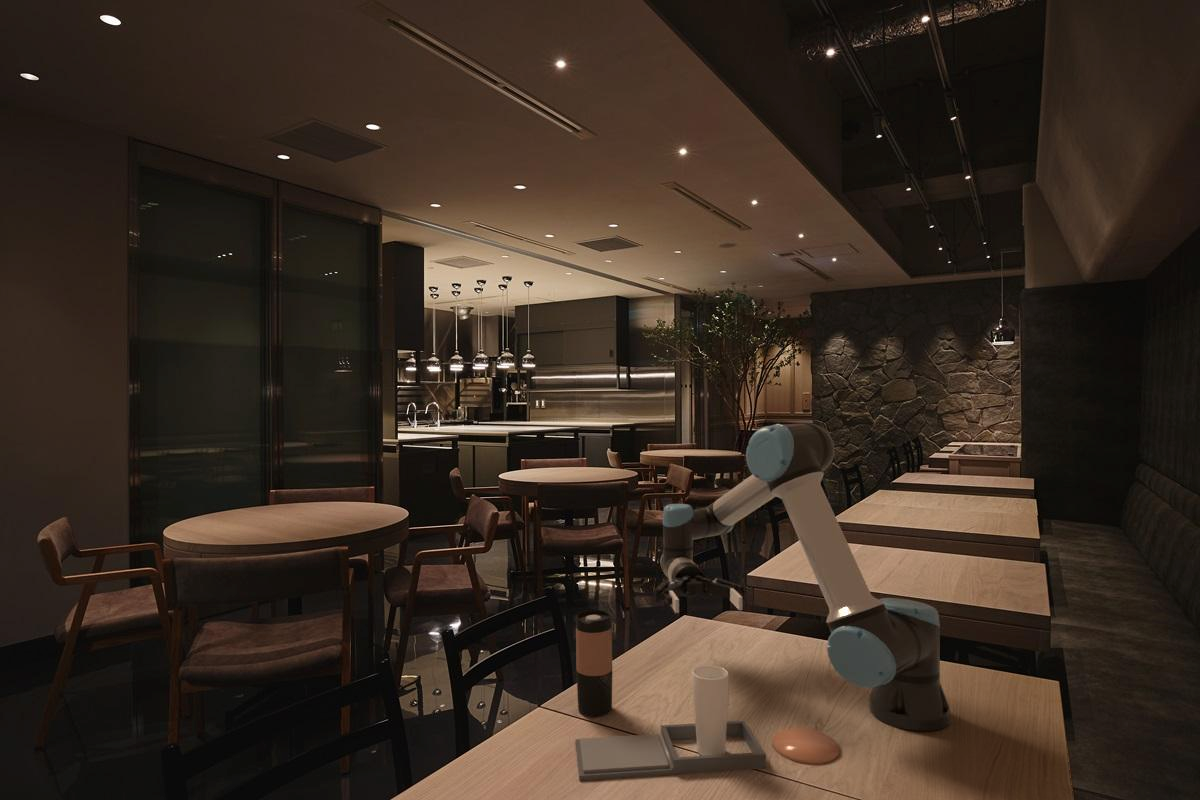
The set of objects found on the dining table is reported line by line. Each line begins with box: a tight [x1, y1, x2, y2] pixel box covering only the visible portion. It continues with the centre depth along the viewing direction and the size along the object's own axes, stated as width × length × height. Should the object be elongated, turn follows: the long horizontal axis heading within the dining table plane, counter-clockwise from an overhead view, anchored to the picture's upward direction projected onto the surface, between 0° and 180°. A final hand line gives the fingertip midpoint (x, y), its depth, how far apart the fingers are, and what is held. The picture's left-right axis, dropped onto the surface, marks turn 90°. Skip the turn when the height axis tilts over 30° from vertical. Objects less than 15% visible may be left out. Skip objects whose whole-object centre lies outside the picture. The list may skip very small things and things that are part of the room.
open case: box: [574, 720, 767, 781], centre depth 126 cm, size 33×13×2 cm, turn 95°
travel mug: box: [575, 609, 613, 718], centre depth 144 cm, size 8×8×20 cm
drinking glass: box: [691, 665, 730, 756], centre depth 126 cm, size 7×7×15 cm
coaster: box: [771, 727, 840, 765], centre depth 128 cm, size 12×12×1 cm
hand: (709, 605), depth 143 cm, fingers open, 13 cm apart
